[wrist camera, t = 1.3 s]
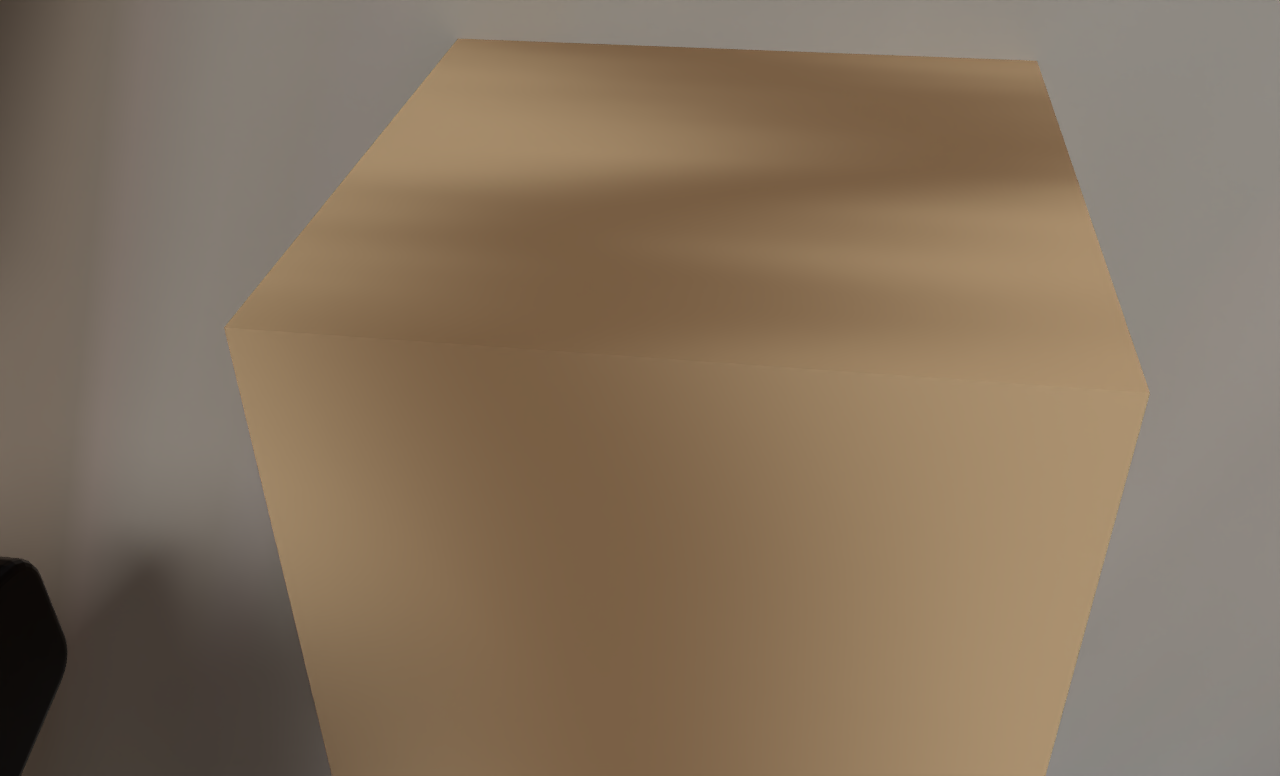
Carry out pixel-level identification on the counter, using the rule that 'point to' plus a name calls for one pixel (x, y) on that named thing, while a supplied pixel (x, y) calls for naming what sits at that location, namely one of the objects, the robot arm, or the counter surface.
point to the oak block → (695, 419)
